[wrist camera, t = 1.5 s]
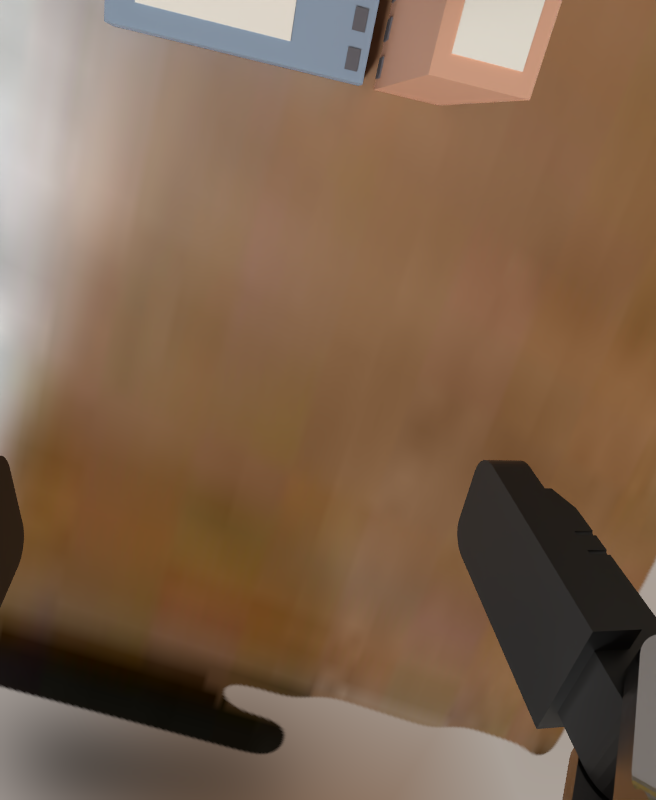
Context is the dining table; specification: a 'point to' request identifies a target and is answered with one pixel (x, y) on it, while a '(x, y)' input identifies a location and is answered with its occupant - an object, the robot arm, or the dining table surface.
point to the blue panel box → (263, 30)
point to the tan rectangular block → (465, 49)
